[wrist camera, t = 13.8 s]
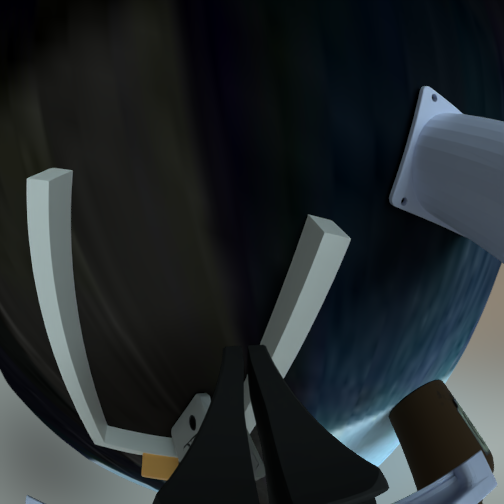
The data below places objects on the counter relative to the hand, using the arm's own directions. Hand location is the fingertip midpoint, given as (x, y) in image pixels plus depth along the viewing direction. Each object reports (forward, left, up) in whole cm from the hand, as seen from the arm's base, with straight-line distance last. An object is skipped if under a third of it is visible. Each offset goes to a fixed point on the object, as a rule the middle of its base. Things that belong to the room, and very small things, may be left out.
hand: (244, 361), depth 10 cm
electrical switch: (-1, +16, -6) cm, 17 cm away
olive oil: (-30, +16, -6) cm, 35 cm away
